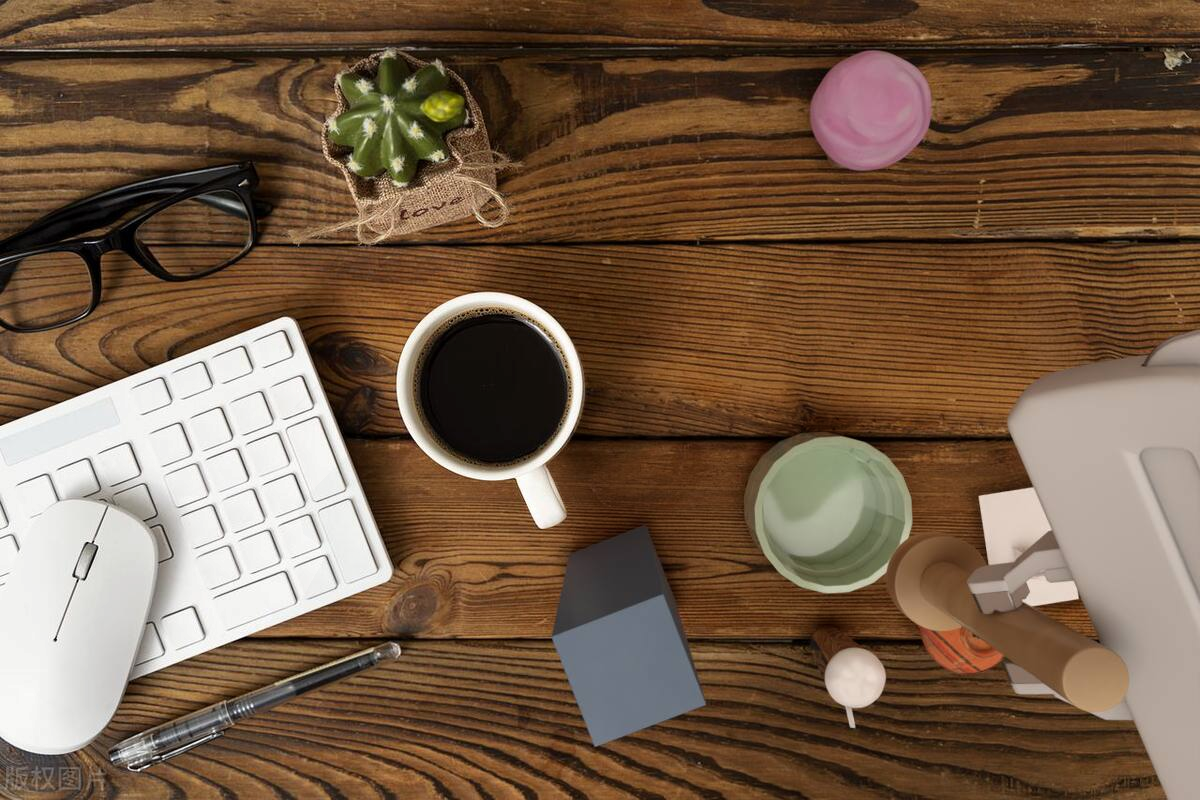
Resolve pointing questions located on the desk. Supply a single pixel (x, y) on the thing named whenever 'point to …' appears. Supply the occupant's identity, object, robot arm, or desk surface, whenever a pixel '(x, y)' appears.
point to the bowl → (827, 511)
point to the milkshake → (847, 669)
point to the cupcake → (870, 111)
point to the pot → (960, 650)
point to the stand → (623, 638)
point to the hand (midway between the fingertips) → (994, 630)
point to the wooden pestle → (1001, 622)
